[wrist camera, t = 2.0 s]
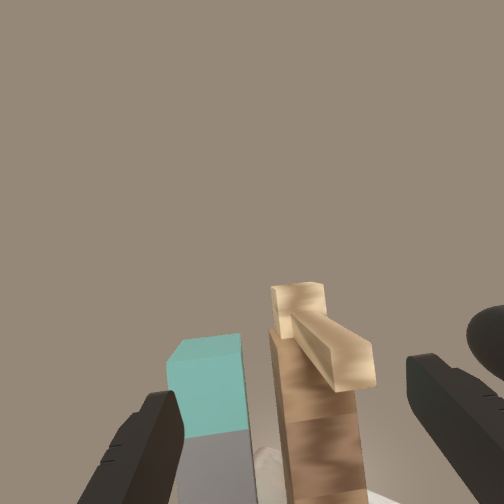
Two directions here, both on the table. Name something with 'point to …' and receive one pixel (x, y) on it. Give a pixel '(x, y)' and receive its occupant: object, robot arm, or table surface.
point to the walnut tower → (315, 431)
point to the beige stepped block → (322, 336)
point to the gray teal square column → (213, 422)
